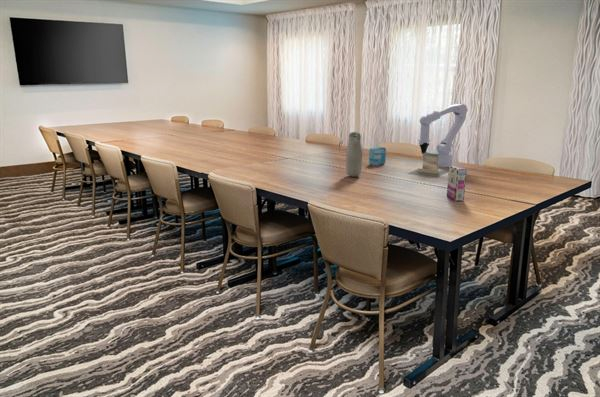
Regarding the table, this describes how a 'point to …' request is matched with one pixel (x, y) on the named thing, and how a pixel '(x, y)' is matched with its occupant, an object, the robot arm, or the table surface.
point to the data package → (377, 156)
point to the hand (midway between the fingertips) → (423, 153)
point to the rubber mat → (428, 172)
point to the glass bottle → (354, 155)
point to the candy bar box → (456, 183)
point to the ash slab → (430, 161)
